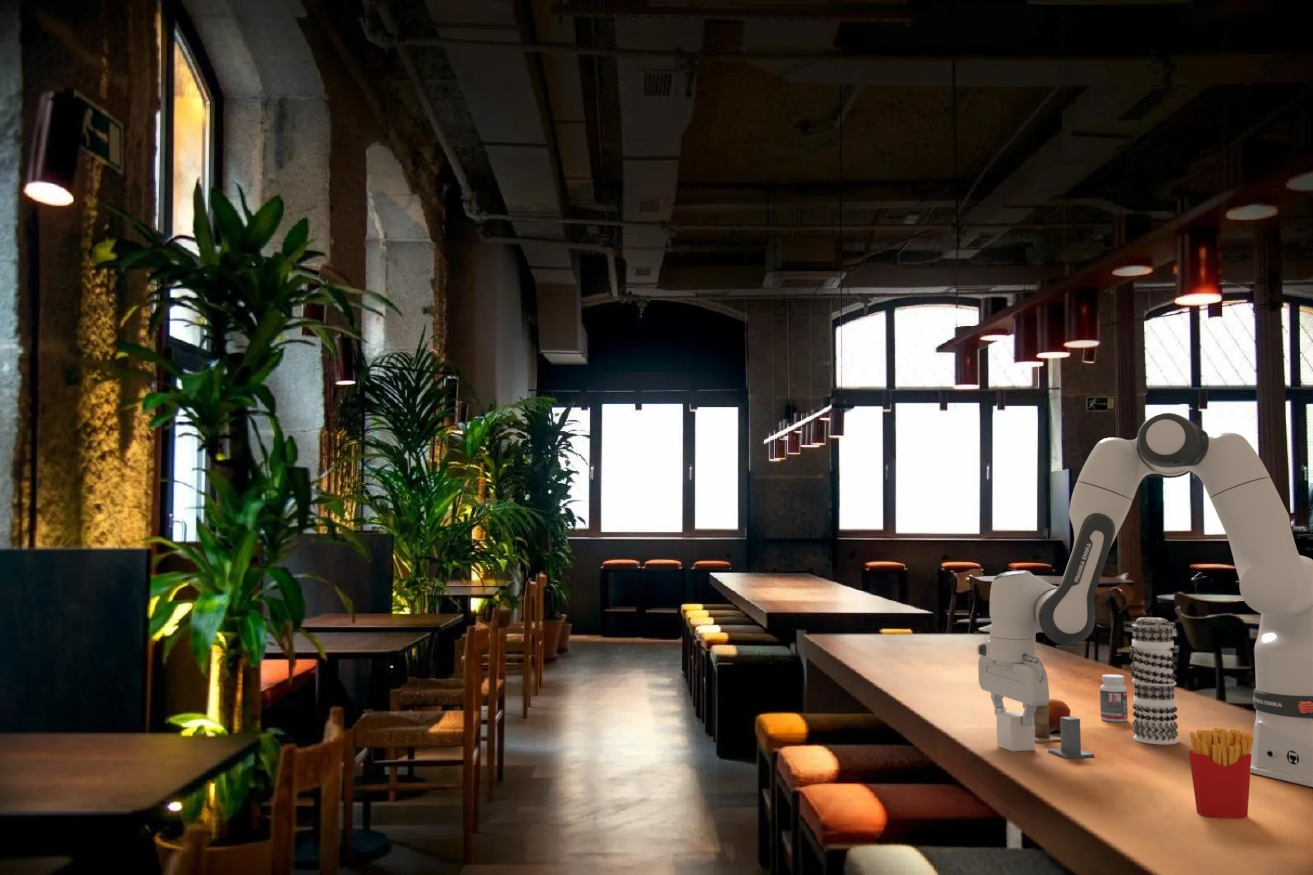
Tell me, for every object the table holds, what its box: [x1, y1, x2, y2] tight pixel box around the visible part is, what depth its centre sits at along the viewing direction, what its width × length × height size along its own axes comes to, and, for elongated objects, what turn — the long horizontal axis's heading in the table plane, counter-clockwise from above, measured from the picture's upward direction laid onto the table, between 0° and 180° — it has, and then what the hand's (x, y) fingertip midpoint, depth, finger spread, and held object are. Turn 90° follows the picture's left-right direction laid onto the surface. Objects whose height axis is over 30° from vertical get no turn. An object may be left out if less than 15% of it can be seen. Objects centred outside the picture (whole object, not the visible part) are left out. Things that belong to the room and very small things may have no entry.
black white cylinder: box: [1128, 616, 1179, 745], centre depth 228 cm, size 9×9×25 cm
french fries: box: [1188, 727, 1254, 819], centre depth 172 cm, size 9×4×13 cm, turn 85°
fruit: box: [1033, 698, 1071, 735], centre depth 237 cm, size 8×8×8 cm
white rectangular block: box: [995, 711, 1036, 752], centre depth 220 cm, size 5×5×7 cm
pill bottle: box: [1099, 673, 1129, 723], centre depth 249 cm, size 6×6×10 cm
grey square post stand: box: [1047, 715, 1095, 760], centre depth 214 cm, size 6×6×7 cm
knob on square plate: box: [1034, 705, 1061, 744], centre depth 228 cm, size 6×6×7 cm
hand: (1013, 720), depth 221 cm, fingers open, 8 cm apart
